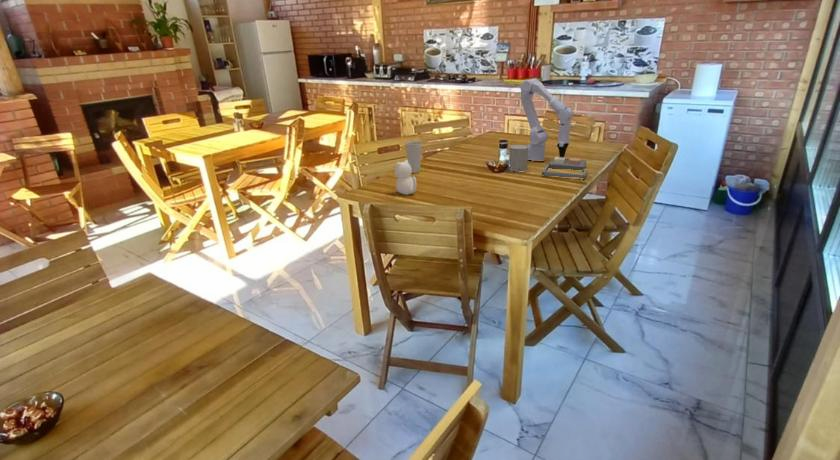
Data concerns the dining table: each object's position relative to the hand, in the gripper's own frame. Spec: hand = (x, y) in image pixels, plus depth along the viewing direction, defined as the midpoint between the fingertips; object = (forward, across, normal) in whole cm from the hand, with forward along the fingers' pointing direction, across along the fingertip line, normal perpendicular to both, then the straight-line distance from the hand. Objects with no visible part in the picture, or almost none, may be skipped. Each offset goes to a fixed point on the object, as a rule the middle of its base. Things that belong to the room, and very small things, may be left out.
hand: (561, 157), depth 242 cm
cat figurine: (+4, -71, +59) cm, 92 cm away
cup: (+4, -38, +70) cm, 80 cm away
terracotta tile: (+1, -7, -7) cm, 10 cm away
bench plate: (+4, -6, -4) cm, 8 cm away
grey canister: (+4, -18, +20) cm, 27 cm away
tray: (+4, -20, -4) cm, 20 cm away
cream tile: (+1, -7, 0) cm, 7 cm away
